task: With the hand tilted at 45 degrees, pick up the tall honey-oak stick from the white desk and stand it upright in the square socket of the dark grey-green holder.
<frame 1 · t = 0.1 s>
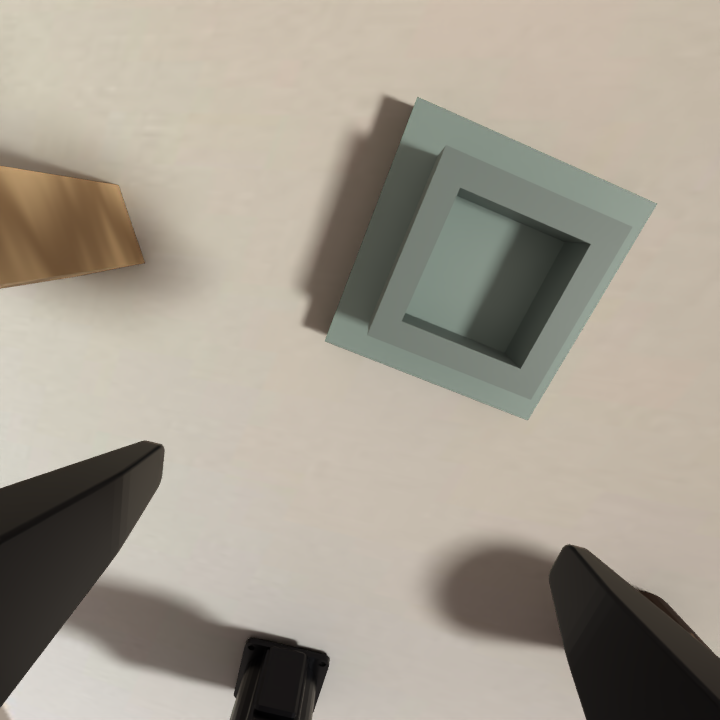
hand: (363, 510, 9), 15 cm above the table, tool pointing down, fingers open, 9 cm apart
oak stick: (97, 232, 21), on the table
brown paper cup: (638, 632, 29), on the table
socket holder: (472, 274, 21), on the table
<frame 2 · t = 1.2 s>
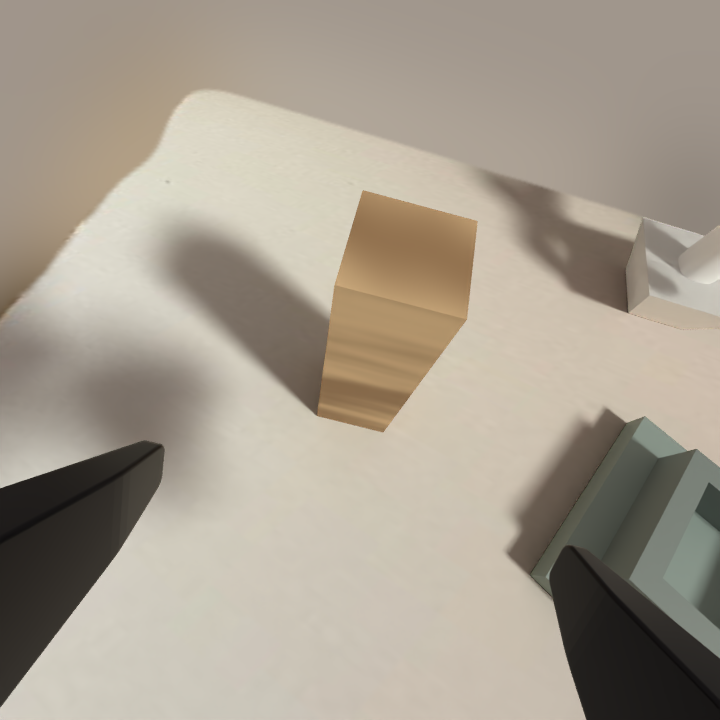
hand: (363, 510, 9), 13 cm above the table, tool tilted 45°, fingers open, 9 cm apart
oak stick: (357, 392, 24), on the table
figurine: (651, 299, 31), on the table
socket holder: (671, 570, 22), on the table
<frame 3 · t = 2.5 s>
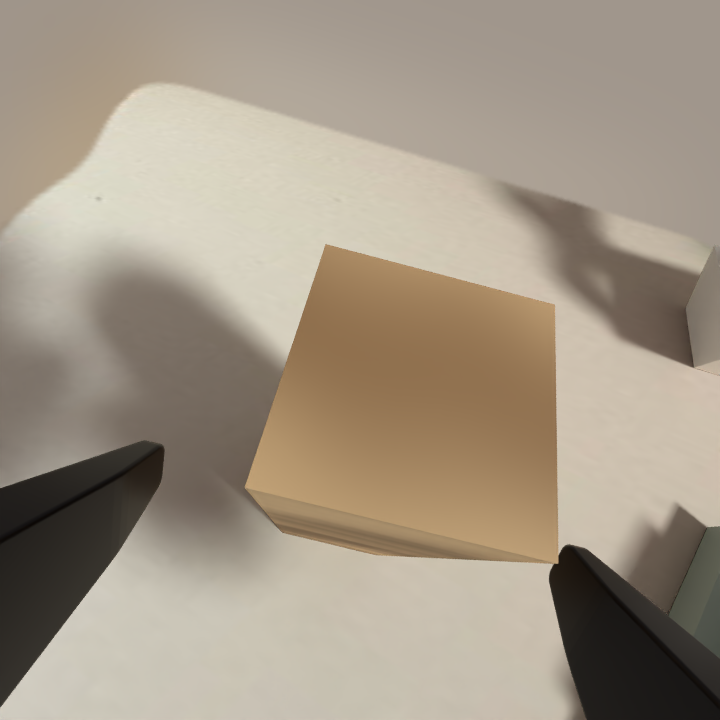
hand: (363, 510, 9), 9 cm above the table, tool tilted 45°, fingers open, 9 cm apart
oak stick: (340, 494, 17), on the table
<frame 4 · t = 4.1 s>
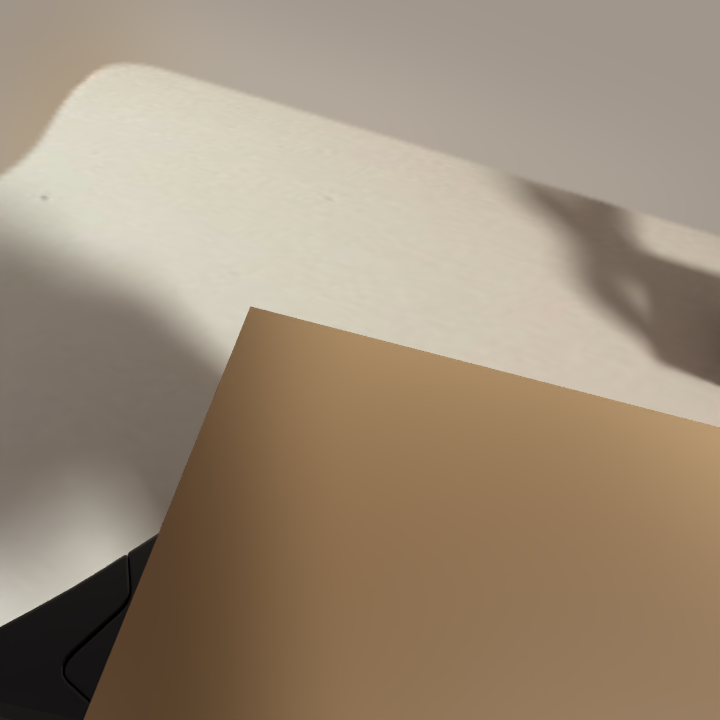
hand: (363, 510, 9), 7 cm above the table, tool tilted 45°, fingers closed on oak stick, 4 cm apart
oak stick: (327, 567, 14), on the table, touching gripper
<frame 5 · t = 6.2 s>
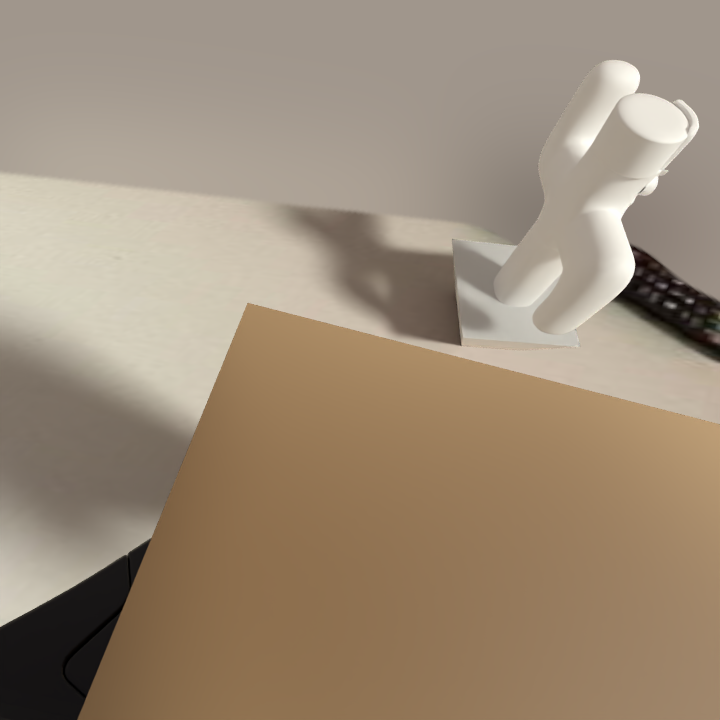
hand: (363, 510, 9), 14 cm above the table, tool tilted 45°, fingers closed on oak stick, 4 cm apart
oak stick: (327, 566, 14), point 7 cm above the table, touching gripper
figurine: (486, 321, 28), on the table
when the fingers open (9 cm above the table, at t = 8.6 s): oak stick stays where it is, resting on socket holder.
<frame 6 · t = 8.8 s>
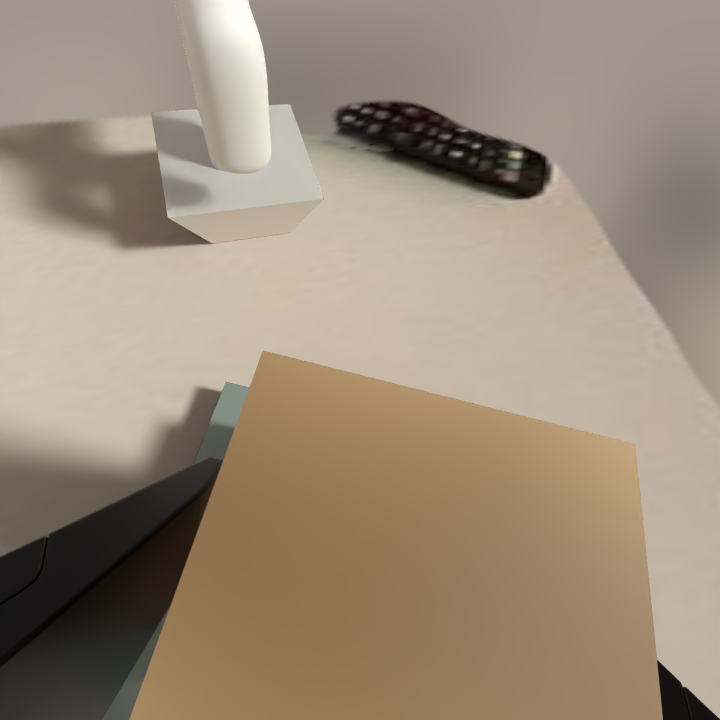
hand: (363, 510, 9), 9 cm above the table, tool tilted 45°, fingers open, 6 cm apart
oak stick: (326, 563, 15), point 2 cm above the table, touching socket holder
figurine: (244, 212, 24), on the table
socket holder: (323, 564, 16), on the table
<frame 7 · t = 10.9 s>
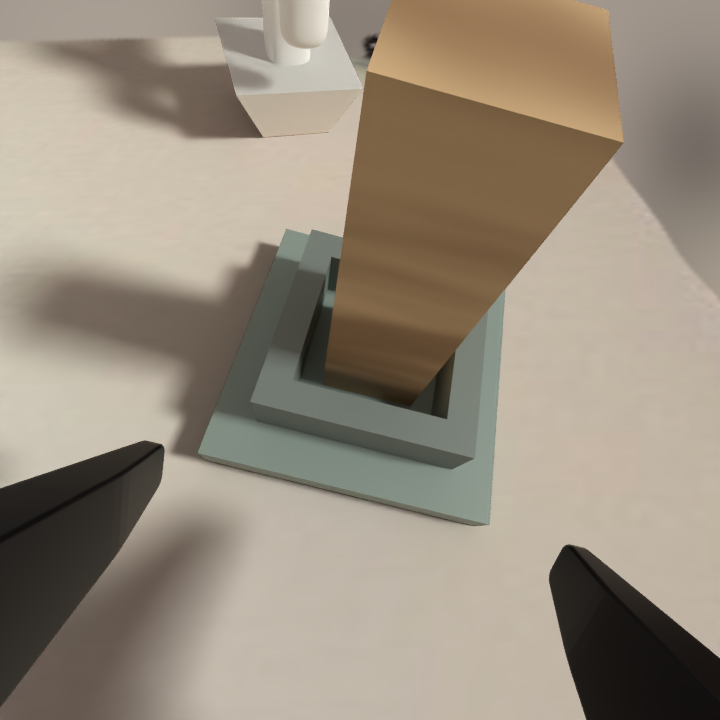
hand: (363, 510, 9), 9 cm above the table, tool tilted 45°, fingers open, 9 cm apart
oak stick: (375, 356, 19), point 1 cm above the table, touching socket holder
figurine: (289, 115, 27), on the table
socket holder: (369, 370, 20), on the table
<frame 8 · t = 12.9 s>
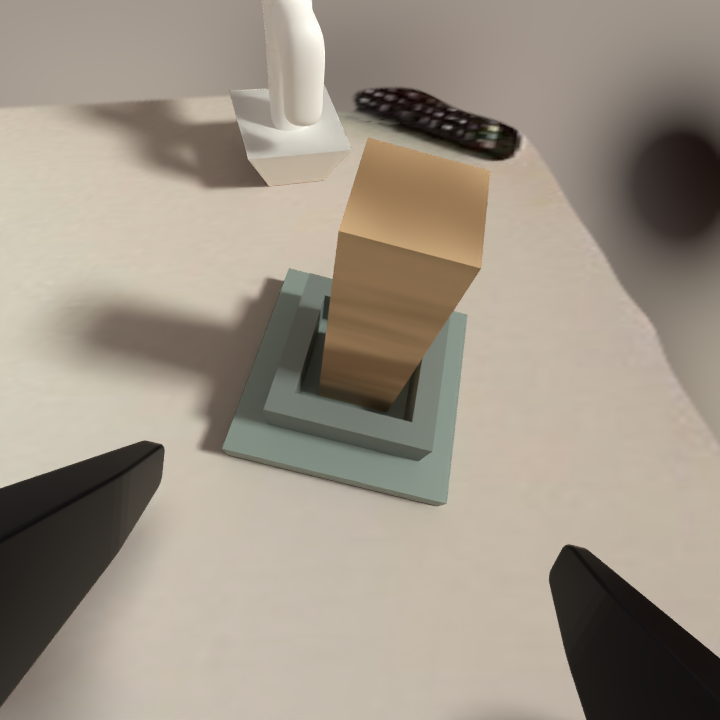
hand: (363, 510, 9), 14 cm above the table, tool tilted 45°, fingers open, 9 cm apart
oak stick: (359, 372, 23), point 1 cm above the table, touching socket holder
figurine: (290, 165, 32), on the table
socket holder: (356, 383, 25), on the table
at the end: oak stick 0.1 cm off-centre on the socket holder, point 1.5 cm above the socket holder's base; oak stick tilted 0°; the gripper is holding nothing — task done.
